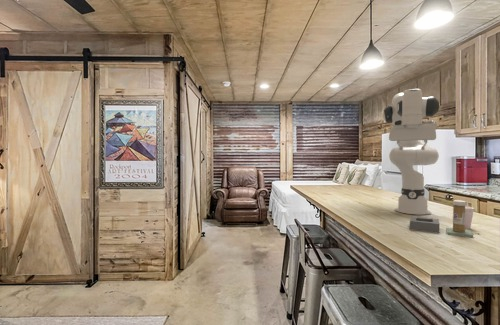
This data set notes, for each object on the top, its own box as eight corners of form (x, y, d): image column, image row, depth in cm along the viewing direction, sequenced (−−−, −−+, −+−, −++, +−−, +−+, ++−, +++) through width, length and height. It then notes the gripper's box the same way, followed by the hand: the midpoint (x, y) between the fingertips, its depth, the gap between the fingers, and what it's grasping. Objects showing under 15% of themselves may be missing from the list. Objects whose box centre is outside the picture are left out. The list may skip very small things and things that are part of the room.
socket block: (410, 224, 142) (411, 216, 142) (438, 227, 136) (438, 218, 136) (409, 229, 133) (410, 221, 132) (439, 233, 127) (439, 224, 127)
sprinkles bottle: (450, 230, 127) (450, 200, 127) (456, 229, 129) (456, 199, 129) (461, 233, 123) (462, 201, 123) (467, 231, 125) (468, 201, 125)
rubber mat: (445, 229, 132) (445, 227, 132) (470, 232, 128) (470, 230, 127) (447, 234, 125) (447, 232, 124) (473, 237, 120) (473, 235, 120)
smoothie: (477, 229, 132) (477, 199, 131) (461, 229, 133) (462, 199, 132) (469, 226, 138) (470, 197, 137) (454, 225, 139) (455, 197, 139)
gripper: (437, 121, 138) (436, 149, 139) (390, 123, 149) (389, 150, 149) (437, 119, 133) (437, 149, 133) (388, 122, 143) (388, 150, 144)
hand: (411, 149), depth 141 cm, fingers open, 8 cm apart
